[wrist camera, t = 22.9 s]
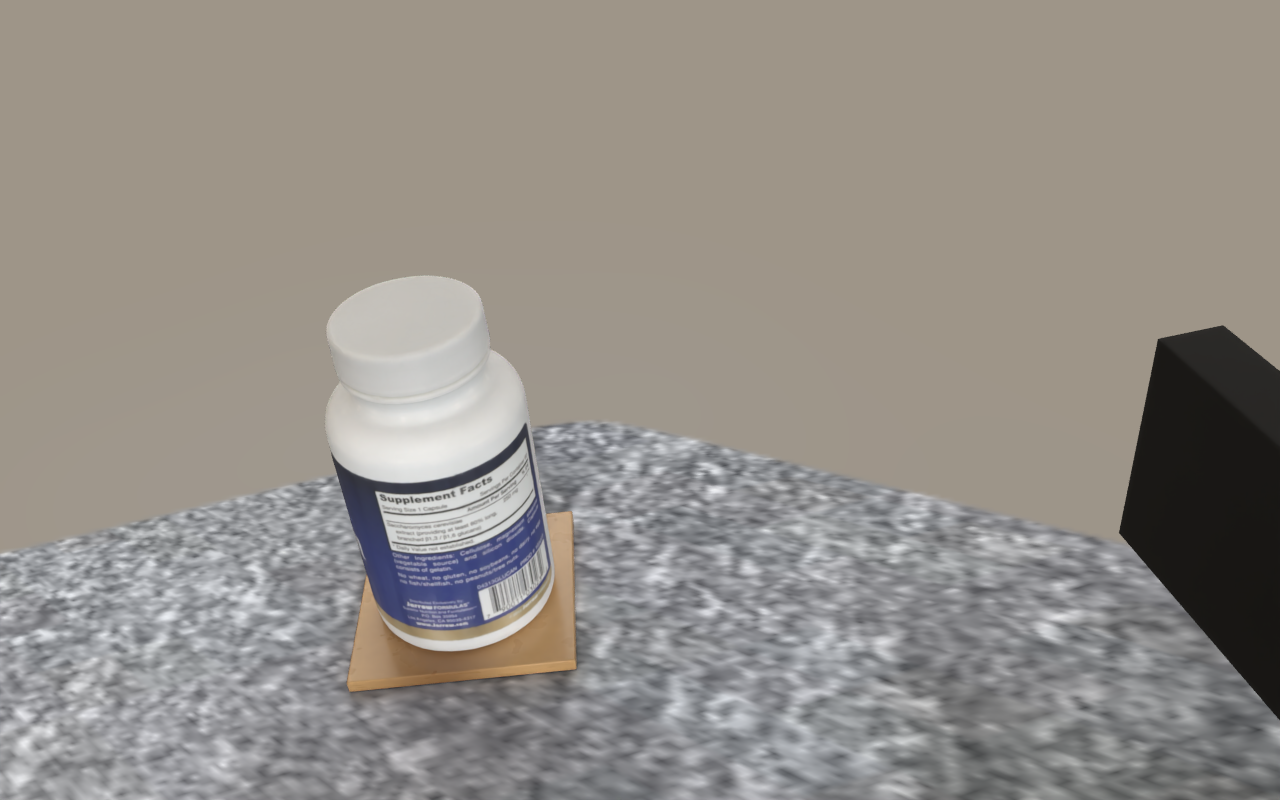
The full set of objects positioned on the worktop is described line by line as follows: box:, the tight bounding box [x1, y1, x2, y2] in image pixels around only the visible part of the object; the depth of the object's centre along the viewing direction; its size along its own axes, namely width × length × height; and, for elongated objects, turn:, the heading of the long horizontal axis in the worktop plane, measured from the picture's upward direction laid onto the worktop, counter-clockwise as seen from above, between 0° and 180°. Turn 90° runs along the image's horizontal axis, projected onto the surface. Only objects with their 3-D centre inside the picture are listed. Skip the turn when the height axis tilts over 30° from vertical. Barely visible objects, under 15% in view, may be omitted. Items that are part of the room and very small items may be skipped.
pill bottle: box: [325, 276, 555, 651], centre depth 33 cm, size 5×5×10 cm
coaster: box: [347, 511, 577, 692], centre depth 36 cm, size 6×6×1 cm
